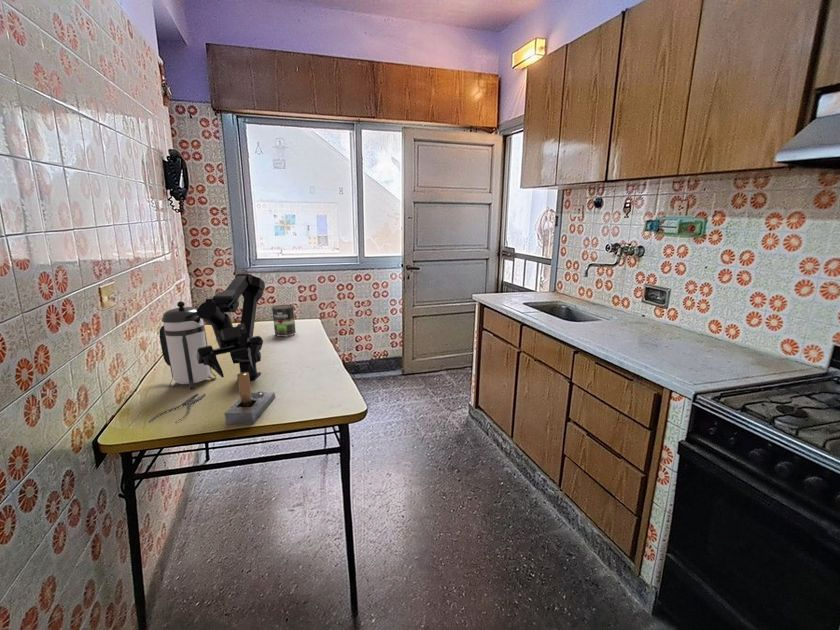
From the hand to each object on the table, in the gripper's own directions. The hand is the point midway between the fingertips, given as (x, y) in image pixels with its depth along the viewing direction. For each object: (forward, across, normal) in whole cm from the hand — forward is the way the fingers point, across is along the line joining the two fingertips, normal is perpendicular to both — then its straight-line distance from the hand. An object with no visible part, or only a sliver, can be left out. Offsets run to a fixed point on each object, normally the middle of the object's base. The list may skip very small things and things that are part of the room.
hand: (238, 372), depth 128 cm
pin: (+12, 0, +5) cm, 13 cm away
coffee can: (-42, +42, +60) cm, 85 cm away
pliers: (-1, -16, +19) cm, 24 cm away
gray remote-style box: (+10, +2, +6) cm, 12 cm away
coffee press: (-16, -8, +34) cm, 38 cm away
